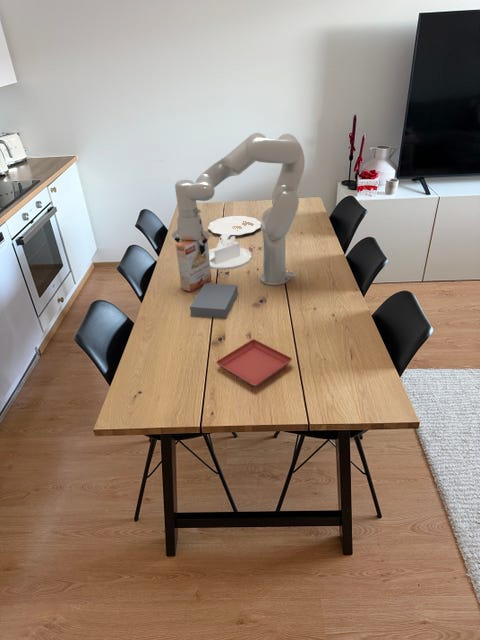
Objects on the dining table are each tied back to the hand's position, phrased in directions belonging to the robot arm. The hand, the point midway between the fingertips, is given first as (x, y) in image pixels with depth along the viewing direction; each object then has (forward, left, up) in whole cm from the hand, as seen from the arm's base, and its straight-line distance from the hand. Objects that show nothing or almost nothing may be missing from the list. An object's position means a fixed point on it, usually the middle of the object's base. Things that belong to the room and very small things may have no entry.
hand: (193, 252), depth 198 cm
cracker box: (0, 0, -15) cm, 15 cm away
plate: (-1, -68, -16) cm, 70 cm away
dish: (-6, -29, -16) cm, 33 cm away
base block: (-13, +15, -15) cm, 25 cm away
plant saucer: (-37, +53, -16) cm, 67 cm away
